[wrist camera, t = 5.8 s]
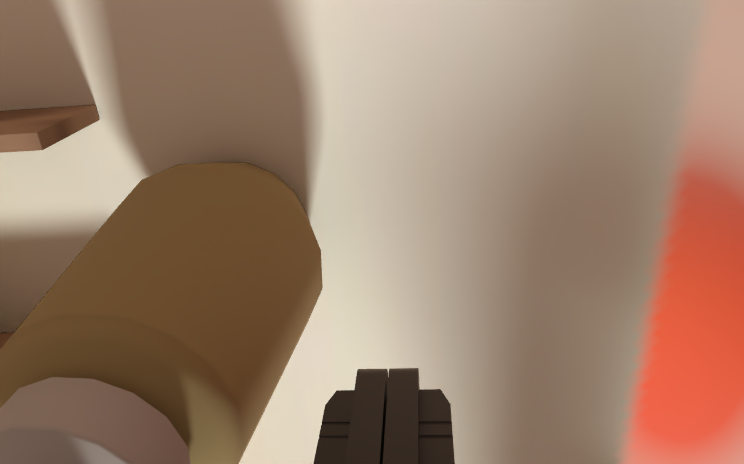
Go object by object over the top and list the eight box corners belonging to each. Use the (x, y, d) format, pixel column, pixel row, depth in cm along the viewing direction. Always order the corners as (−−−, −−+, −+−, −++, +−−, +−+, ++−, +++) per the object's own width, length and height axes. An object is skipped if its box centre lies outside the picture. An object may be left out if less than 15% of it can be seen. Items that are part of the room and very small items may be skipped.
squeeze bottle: (277, 335, 28) (79, 880, 11) (119, 245, 26) (-367, 725, 10) (372, 203, 25) (285, 699, 8) (199, 93, 23) (-323, 433, 7)
